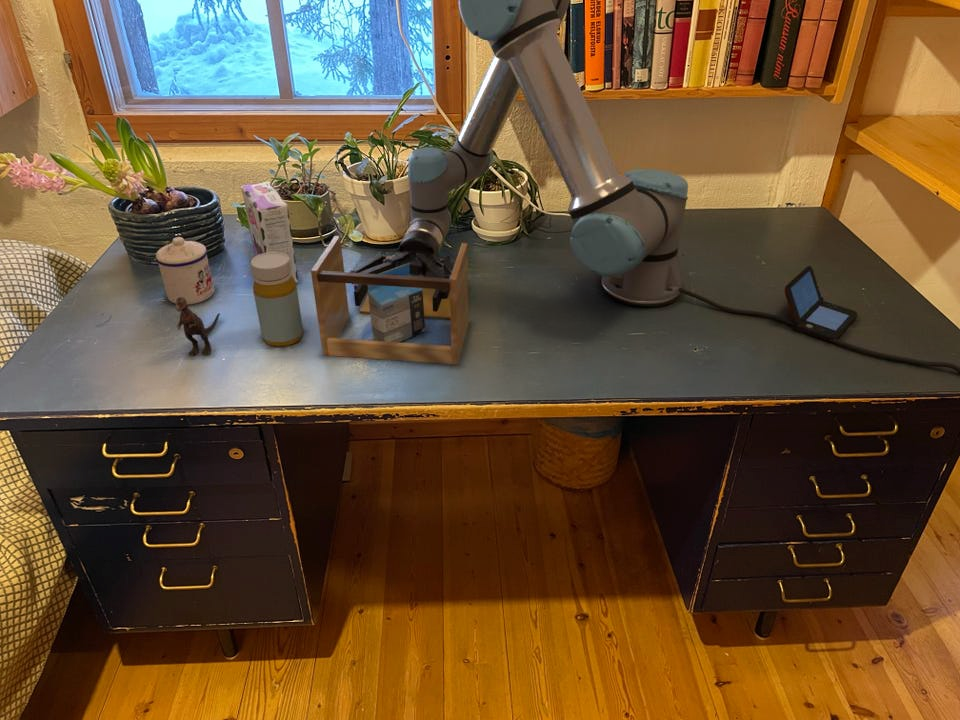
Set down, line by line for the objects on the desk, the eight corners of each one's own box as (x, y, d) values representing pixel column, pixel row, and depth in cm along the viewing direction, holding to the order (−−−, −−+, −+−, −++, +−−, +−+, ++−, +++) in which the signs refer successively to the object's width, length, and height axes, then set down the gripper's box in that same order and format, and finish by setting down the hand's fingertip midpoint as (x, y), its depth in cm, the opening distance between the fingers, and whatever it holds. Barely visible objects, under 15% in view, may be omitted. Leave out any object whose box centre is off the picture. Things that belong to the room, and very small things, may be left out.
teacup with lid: (208, 306, 138) (195, 249, 132) (159, 306, 138) (143, 249, 132) (225, 276, 148) (214, 222, 142) (180, 276, 148) (166, 222, 142)
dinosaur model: (168, 302, 116) (194, 263, 128) (180, 366, 121) (203, 323, 134) (194, 302, 116) (217, 264, 129) (205, 366, 122) (226, 324, 135)
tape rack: (468, 324, 133) (467, 243, 124) (457, 365, 122) (455, 279, 113) (344, 316, 135) (334, 235, 126) (322, 355, 125) (310, 270, 116)
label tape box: (385, 350, 126) (379, 286, 119) (371, 340, 129) (365, 277, 122) (426, 332, 131) (423, 269, 124) (412, 323, 133) (408, 261, 126)
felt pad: (465, 287, 144) (465, 286, 144) (455, 319, 135) (455, 317, 134) (375, 282, 146) (375, 280, 146) (359, 312, 136) (359, 310, 136)
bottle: (259, 331, 131) (244, 255, 122) (299, 323, 133) (287, 247, 125) (266, 351, 126) (251, 273, 117) (307, 343, 128) (295, 265, 119)
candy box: (254, 260, 154) (240, 184, 145) (282, 254, 156) (270, 179, 147) (270, 288, 144) (256, 209, 135) (300, 282, 146) (288, 203, 137)
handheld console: (834, 345, 128) (846, 307, 123) (773, 323, 133) (782, 287, 129) (858, 317, 135) (870, 281, 131) (800, 298, 141) (809, 263, 137)
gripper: (484, 269, 144) (468, 325, 126) (359, 261, 147) (327, 315, 129) (484, 233, 140) (467, 287, 122) (355, 226, 142) (322, 277, 125)
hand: (395, 302), depth 126 cm, fingers open, 13 cm apart
